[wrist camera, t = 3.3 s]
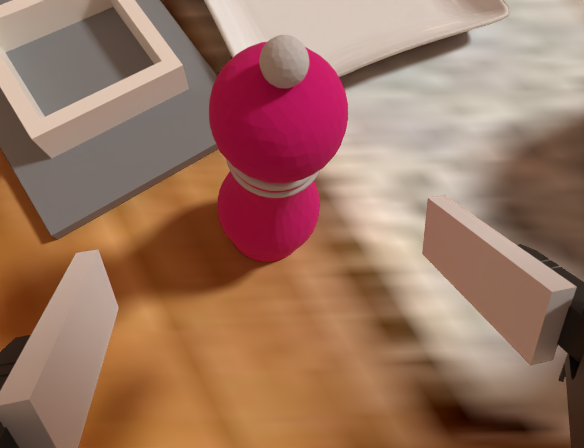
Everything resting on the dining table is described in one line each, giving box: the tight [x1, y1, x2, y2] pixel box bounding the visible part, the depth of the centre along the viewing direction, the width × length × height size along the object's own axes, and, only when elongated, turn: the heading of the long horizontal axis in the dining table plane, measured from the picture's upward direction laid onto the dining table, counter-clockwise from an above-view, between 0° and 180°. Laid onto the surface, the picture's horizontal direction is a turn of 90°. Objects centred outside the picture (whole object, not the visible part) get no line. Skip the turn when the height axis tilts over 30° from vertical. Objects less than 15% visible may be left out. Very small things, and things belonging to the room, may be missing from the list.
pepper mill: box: [209, 35, 348, 262], centre depth 23 cm, size 7×7×20 cm
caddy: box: [0, 0, 218, 239], centre depth 33 cm, size 18×24×4 cm
